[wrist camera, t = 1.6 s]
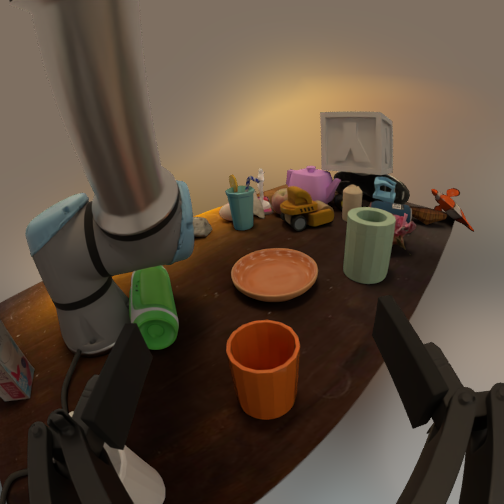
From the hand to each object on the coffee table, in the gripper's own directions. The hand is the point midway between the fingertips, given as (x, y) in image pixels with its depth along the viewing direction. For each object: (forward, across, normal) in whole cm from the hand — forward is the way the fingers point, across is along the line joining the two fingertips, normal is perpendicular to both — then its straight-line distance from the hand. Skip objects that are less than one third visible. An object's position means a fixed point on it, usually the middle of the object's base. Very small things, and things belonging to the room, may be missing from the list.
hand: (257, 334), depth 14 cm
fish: (+51, +57, -14) cm, 78 cm away
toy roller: (+61, +13, -18) cm, 65 cm away
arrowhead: (+71, -3, -8) cm, 71 cm away
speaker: (+24, -22, -12) cm, 35 cm away
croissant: (+57, +50, -15) cm, 78 cm away
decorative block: (+75, +34, -7) cm, 83 cm away
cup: (+61, -4, -17) cm, 64 cm away
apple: (+69, +10, -17) cm, 72 cm away
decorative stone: (+59, -20, -16) cm, 64 cm away
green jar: (+35, +20, -19) cm, 45 cm away
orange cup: (+10, -1, -20) cm, 22 cm away
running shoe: (+77, +37, -12) cm, 86 cm away
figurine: (+74, 0, -15) cm, 76 cm away
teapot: (+75, +17, -17) cm, 79 cm away
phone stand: (+63, +37, -19) cm, 75 cm away
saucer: (+34, +2, -18) cm, 39 cm away
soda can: (+52, +41, -16) cm, 69 cm away
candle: (+62, +26, -18) cm, 70 cm away
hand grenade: (+75, +26, -15) cm, 81 cm away
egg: (+67, -3, -13) cm, 68 cm away
